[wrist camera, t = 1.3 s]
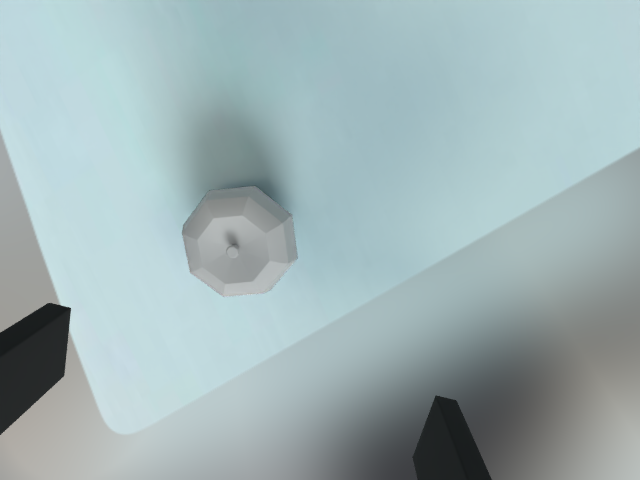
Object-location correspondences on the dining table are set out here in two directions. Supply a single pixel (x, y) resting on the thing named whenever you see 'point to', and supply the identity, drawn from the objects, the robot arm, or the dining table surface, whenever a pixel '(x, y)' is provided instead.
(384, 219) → the dining table surface
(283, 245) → the apple
